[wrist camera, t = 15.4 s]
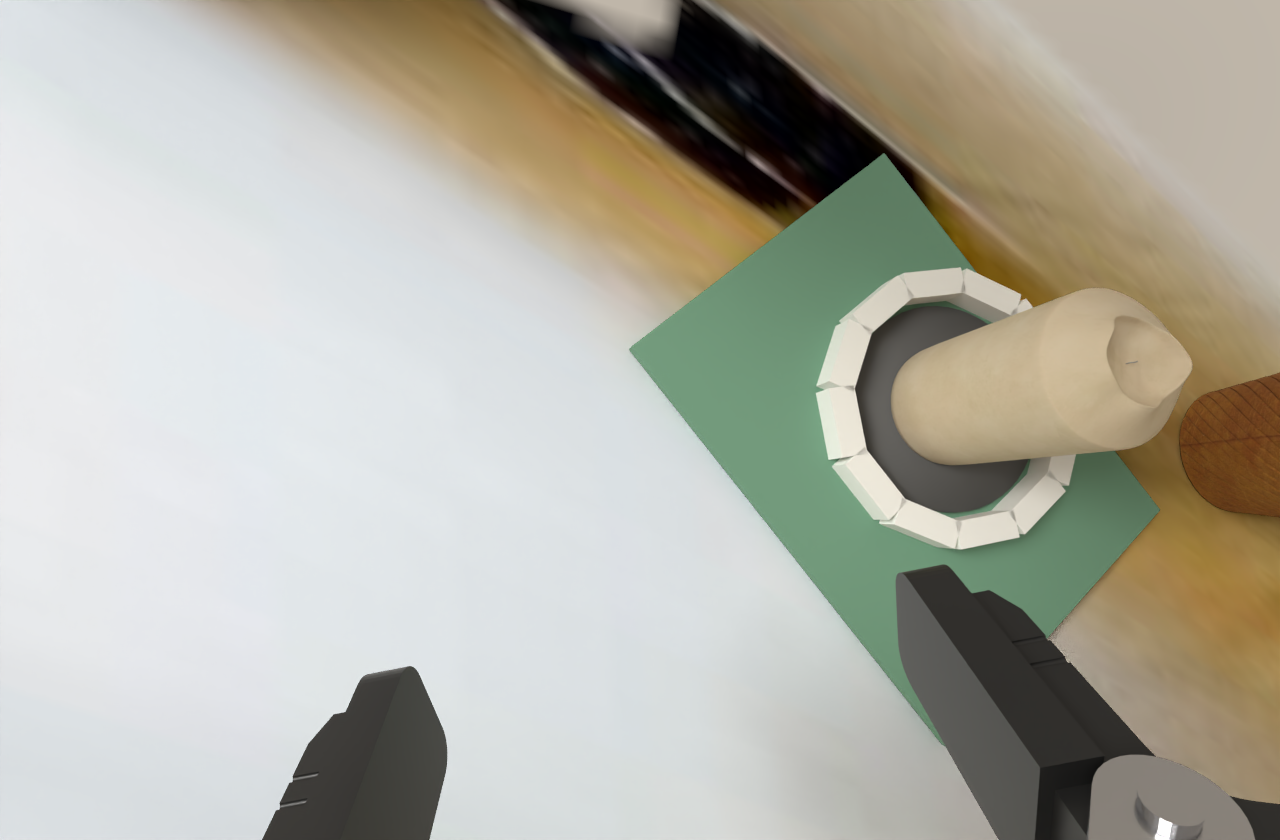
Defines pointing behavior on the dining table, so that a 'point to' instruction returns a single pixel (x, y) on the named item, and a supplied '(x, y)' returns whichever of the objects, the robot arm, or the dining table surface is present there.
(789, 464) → the putting green
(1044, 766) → the robot arm
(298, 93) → the dining table surface
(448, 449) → the dining table surface
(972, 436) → the candle
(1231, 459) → the disposable coffee cup
